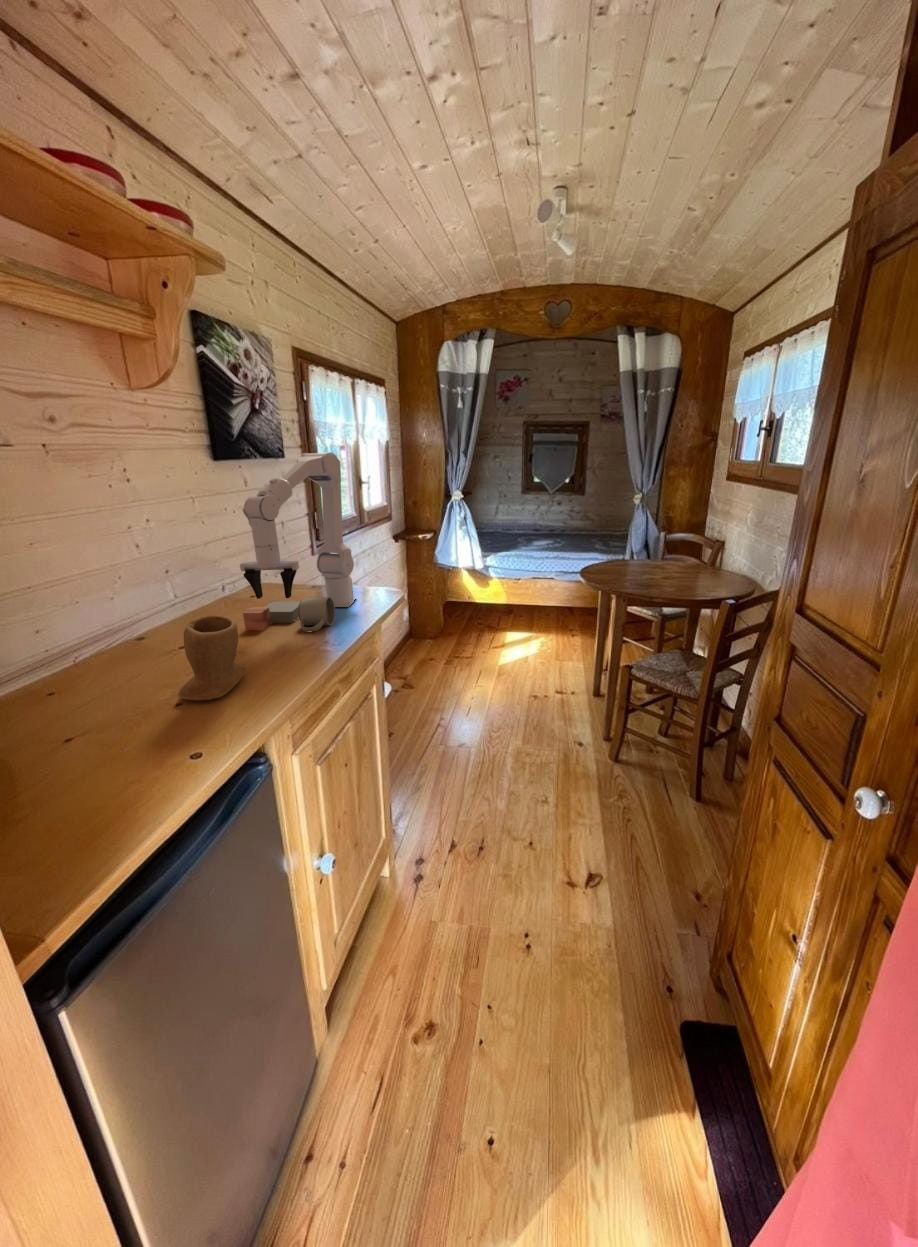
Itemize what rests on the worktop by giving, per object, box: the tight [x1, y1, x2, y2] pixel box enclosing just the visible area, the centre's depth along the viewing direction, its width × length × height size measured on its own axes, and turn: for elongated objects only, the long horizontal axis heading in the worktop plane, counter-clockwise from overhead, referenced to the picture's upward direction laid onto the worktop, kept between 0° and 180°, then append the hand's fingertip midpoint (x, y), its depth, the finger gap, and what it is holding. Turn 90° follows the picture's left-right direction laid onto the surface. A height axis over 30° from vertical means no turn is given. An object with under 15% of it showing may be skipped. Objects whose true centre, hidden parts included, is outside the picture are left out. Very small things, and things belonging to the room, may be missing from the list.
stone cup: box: [177, 614, 248, 701], centre depth 107 cm, size 15×12×15 cm
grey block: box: [264, 601, 301, 623], centre depth 154 cm, size 10×10×4 cm
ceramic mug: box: [298, 596, 336, 632], centre depth 144 cm, size 11×8×8 cm
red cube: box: [242, 606, 273, 631], centre depth 146 cm, size 5×5×5 cm
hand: (274, 597), depth 140 cm, fingers open, 7 cm apart
